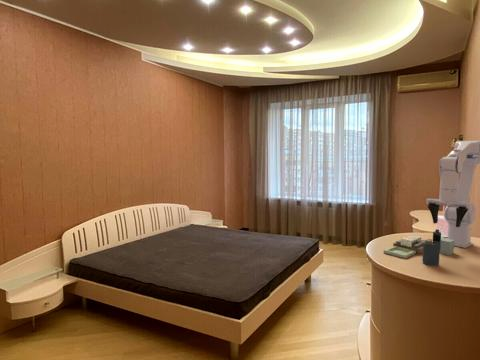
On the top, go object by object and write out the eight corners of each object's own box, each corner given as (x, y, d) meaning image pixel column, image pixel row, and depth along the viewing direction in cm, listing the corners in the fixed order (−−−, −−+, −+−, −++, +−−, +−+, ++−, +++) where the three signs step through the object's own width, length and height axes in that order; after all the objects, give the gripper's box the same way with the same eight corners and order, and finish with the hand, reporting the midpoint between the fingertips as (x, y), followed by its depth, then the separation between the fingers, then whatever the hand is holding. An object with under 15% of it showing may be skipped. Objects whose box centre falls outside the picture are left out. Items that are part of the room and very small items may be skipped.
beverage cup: (445, 238, 143) (447, 207, 141) (431, 235, 148) (433, 205, 147) (452, 237, 146) (454, 206, 144) (438, 234, 151) (440, 204, 150)
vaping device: (440, 265, 109) (443, 230, 108) (423, 264, 110) (425, 230, 109) (437, 263, 112) (439, 229, 110) (421, 262, 113) (423, 228, 112)
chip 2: (410, 241, 132) (410, 235, 131) (420, 243, 128) (421, 237, 128) (405, 242, 129) (406, 236, 129) (416, 245, 126) (416, 238, 126)
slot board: (409, 241, 138) (410, 235, 137) (434, 247, 130) (434, 239, 130) (393, 248, 129) (393, 240, 128) (418, 254, 121) (418, 246, 121)
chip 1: (405, 243, 129) (405, 236, 129) (416, 245, 126) (416, 239, 126) (400, 244, 126) (401, 238, 126) (411, 247, 123) (411, 240, 123)
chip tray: (394, 248, 128) (394, 245, 128) (415, 253, 122) (416, 250, 121) (383, 253, 122) (383, 249, 122) (405, 258, 116) (405, 255, 116)
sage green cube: (440, 250, 127) (441, 237, 126) (453, 252, 123) (454, 240, 123) (436, 252, 124) (437, 239, 123) (449, 255, 120) (450, 242, 120)
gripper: (423, 187, 124) (421, 222, 126) (467, 191, 113) (464, 230, 114) (431, 186, 129) (429, 220, 130) (474, 190, 118) (471, 227, 119)
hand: (446, 224), depth 122 cm, fingers open, 7 cm apart
